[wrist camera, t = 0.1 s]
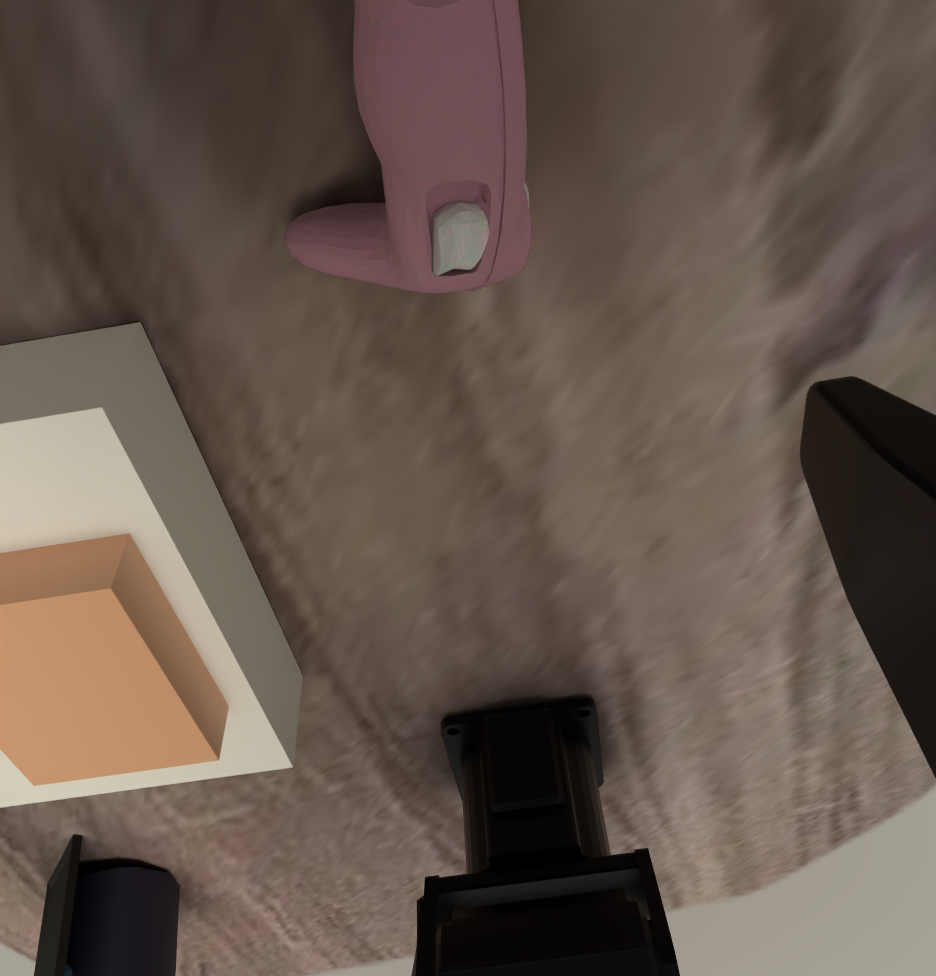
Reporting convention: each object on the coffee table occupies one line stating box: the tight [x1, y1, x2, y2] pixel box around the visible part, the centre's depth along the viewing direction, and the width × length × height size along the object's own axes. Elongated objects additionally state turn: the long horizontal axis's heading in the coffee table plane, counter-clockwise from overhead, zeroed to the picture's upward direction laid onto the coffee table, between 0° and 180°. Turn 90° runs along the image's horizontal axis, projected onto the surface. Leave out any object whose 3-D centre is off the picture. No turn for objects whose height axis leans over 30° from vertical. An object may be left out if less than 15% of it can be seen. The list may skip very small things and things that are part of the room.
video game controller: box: [285, 0, 532, 294], centre depth 17 cm, size 10×5×7 cm, turn 6°
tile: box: [0, 533, 229, 786], centre depth 25 cm, size 8×6×2 cm
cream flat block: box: [0, 322, 303, 808], centre depth 28 cm, size 16×12×4 cm
